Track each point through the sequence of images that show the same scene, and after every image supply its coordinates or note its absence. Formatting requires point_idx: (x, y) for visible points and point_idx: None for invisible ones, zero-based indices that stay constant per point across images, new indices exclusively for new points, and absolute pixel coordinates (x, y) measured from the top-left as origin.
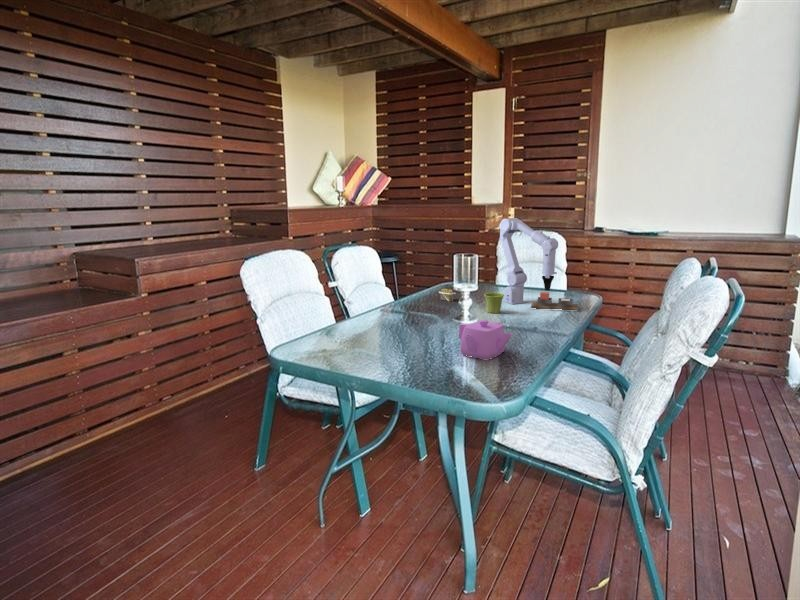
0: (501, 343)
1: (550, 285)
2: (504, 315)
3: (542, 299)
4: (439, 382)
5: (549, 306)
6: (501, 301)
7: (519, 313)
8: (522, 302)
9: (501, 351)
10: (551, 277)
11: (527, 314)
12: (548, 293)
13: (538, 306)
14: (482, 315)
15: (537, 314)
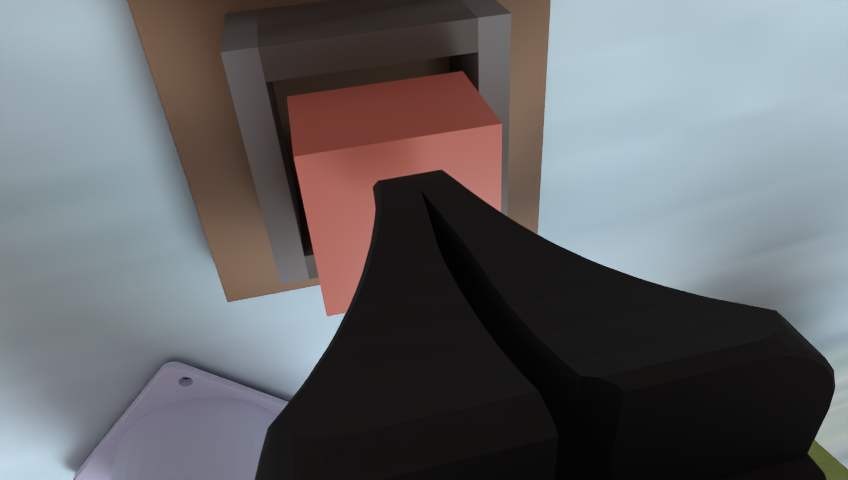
0: None
1: (520, 225)
2: (833, 331)
3: (293, 195)
4: None
5: (499, 1)
6: (823, 469)
7: (757, 258)
8: (240, 388)
9: None
10: (747, 435)
11: (800, 181)
12: (465, 143)
13: (540, 157)
14: (825, 435)
15: (802, 82)
